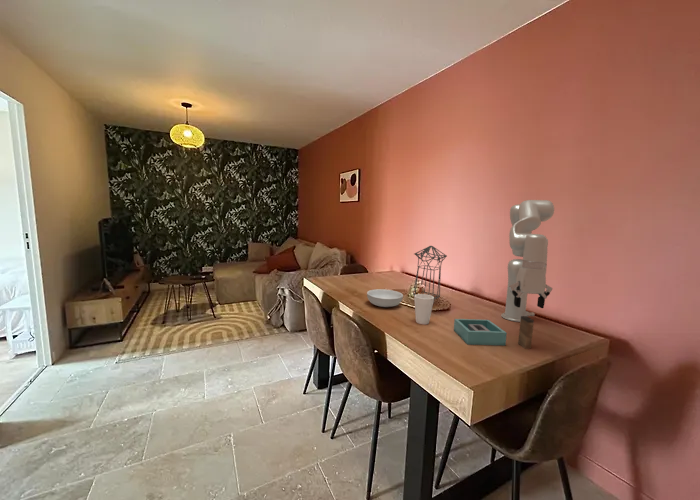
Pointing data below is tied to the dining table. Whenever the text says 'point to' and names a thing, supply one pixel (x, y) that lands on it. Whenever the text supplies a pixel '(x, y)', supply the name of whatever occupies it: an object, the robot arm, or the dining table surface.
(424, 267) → the geometric lantern
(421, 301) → the foam cup
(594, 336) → the dining table surface
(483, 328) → the teal shallow tray
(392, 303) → the serving bowl
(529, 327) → the brown rectangular block
